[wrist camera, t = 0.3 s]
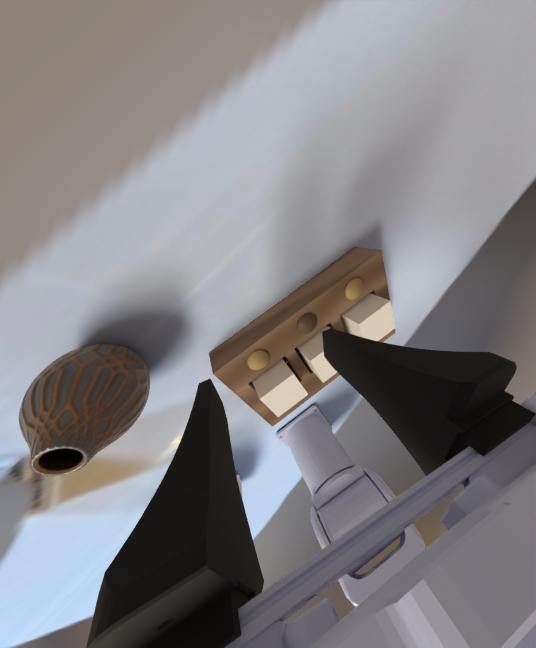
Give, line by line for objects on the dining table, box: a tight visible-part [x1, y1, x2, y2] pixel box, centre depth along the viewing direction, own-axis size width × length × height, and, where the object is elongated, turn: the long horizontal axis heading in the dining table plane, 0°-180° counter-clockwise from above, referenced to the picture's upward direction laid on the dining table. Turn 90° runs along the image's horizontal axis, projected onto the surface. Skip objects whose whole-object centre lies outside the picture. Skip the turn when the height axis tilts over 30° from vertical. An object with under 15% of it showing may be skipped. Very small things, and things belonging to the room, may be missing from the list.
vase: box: [19, 344, 150, 476], centre depth 14 cm, size 7×7×9 cm
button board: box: [209, 247, 395, 427], centre depth 23 cm, size 12×20×4 cm, turn 120°
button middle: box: [296, 325, 337, 383], centre depth 22 cm, size 4×4×4 cm
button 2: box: [252, 359, 308, 417], centre depth 21 cm, size 4×4×4 cm
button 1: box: [340, 293, 395, 341], centre depth 22 cm, size 4×4×4 cm
